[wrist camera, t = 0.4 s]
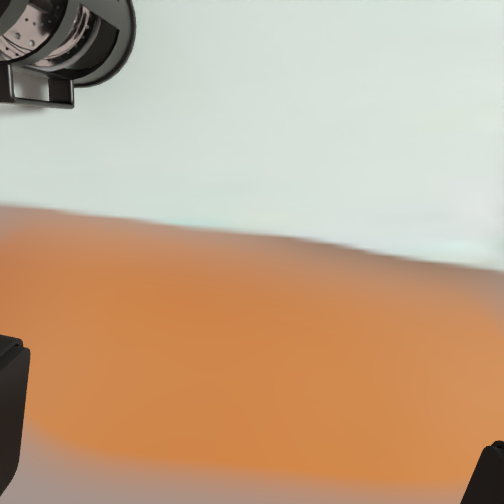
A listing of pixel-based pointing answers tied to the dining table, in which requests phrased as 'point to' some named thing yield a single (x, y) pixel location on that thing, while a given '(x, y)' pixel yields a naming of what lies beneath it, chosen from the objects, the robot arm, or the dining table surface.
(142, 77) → the dining table surface
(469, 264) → the dining table surface
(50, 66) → the french press
